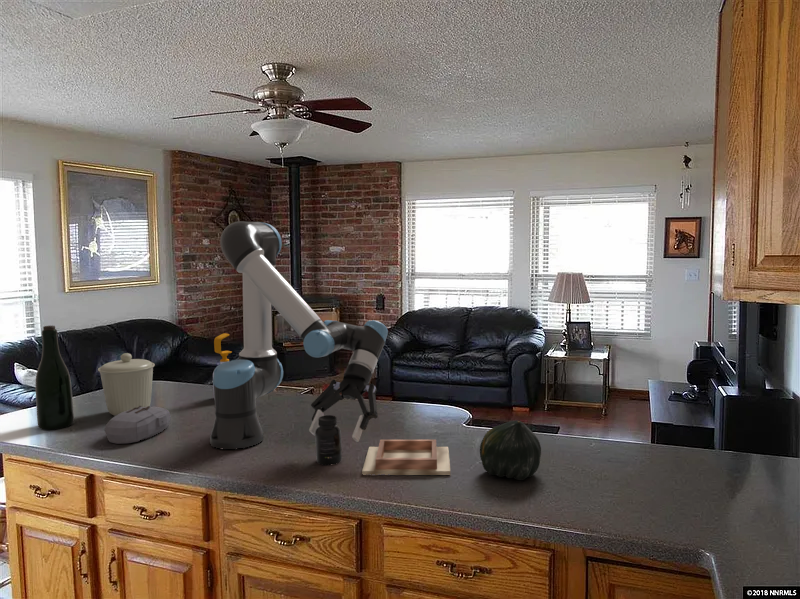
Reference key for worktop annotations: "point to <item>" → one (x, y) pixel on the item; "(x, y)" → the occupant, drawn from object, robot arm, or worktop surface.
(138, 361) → the canister
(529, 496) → the worktop surface
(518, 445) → the squash
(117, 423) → the soft grey pack
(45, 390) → the wine bottle
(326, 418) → the supplement bottle
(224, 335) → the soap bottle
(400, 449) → the pocket board
